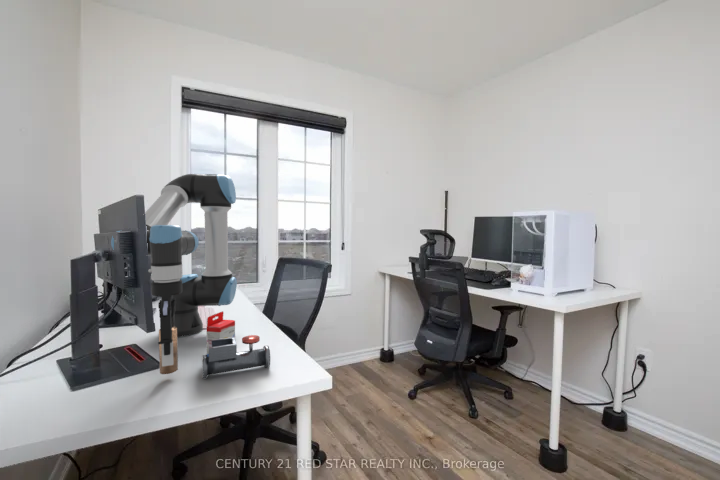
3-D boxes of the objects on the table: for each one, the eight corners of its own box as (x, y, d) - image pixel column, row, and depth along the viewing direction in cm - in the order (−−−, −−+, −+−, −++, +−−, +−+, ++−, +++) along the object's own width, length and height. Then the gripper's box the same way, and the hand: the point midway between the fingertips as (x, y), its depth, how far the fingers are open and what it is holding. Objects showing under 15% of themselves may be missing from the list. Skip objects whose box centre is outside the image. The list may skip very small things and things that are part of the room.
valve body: (202, 383, 88) (202, 348, 88) (202, 372, 95) (202, 340, 94) (270, 371, 96) (270, 339, 96) (266, 361, 103) (266, 332, 102)
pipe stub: (160, 368, 92) (159, 327, 91) (178, 366, 94) (177, 325, 93) (158, 375, 88) (157, 332, 87) (177, 372, 90) (176, 330, 89)
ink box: (220, 364, 101) (219, 318, 100) (206, 363, 102) (205, 317, 101) (235, 354, 109) (235, 311, 108) (222, 352, 110) (222, 310, 109)
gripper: (155, 276, 96) (157, 352, 97) (145, 286, 80) (148, 377, 81) (184, 274, 99) (185, 348, 100) (180, 284, 83) (181, 372, 85)
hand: (168, 361), depth 91 cm, fingers closed on pipe stub, 4 cm apart
